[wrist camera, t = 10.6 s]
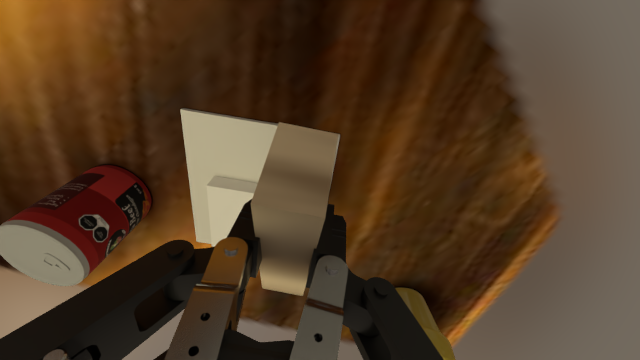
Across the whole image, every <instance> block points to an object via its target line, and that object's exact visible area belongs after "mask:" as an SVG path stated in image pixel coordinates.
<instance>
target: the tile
mask: <svg viewBox="0 0 640 360" xmlns="http://www.w3.org/2000/svg"><path fill="white" fill-rule="evenodd" d="M257 184H258V183H254V182H248V181H242V180H236V179H230V178H224V177H218V176H214V177H213V178H212V179H211V181H210V182H209V183H208V184H207V196H208V208H209V220H210V231H211V243H212V246H213V247H215V246H216V244H217V243H218V242H219V241H221V240H222V239H225V238H227V236H228V234H229V232H230V230H231V228H232V227H233V225H234V223H235V221H236V219H237V218H238V215H239V213H240V212H241V210H242V208H243V206H244V204H245V203H247V202H248V201H249V200H251V199H252V198H253V195H254V192H255V190H256V187H257Z"/></svg>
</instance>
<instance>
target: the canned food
mask: <svg viewBox="0 0 640 360" xmlns="http://www.w3.org/2000/svg"><path fill="white" fill-rule="evenodd" d="M151 203H152V202H151V195H150V193H149V191H148V189H147V187H146V186H145V185H144V183H143V182H142V181H141V180H140V179H139V178H138V177H136V176H135V175H134V174H132V173H131V172H129V171H127V170H125V169H123V168H120V167H117V166H112V165H102V166H98V167H94V168H91V169H89V170H88V171H86V172H84V173H83V174H81V175H80V176H78V177H76V178H75V179H73V180H71V181H70V182H68V183H67V184H65V185H63V186H62V187H60V188H59V189H57V190H55V191H54V192H52V193H51V194H49V195H47V196H46V197H44V198H43V199H41V200H39V201H38V202H36V203H34V204H33V205H31V206H30V207H28V208H26V209H25V210H23V211H22V212H20V213H18V214H17V215H15V216H14V217H12V218H11V219H9V220H8V221H6V222H5V223H3V224H2V225H1V226H0V254H1V256H2V257H3V258H4V259H5V260H6V261H7V262H9V263H10V264H11V265H12V266H13V267H15V268H16V269H18V270H19V271H21V272H23V273H24V274H26V275H28V276H30V277H32V278H34V279H37V280H40V281H42V282H45V283H49V284H52V285H58V286H72V285H76V284H78V283H80V282H81V281H82V280H83V279H84V278H86V277H87V276H88V275H89V274H90V273H91V272H92V271H93V270H94V269H95V268H96V267H97V266H98V265H99V264H100V263H101V262H102V261H103V260H104V259H105V258H106V257H107V256H108V255H109V253H110V252H111V251H112V250H113V249H114V248H115V247H116V246H117V245H118V244H119V243H120V242H121V241H122V240H123V239H124V238H125V237H126V236H127V235H128V234H129V233H130V232H131V231H132V229H133V228H134V227H135V226H136V225H137V224H138V223H139V222H140V221H141V220H142V219H143V218H144V217H145V216H146V215H147V213H148V212H149V209H150V207H151Z"/></svg>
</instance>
